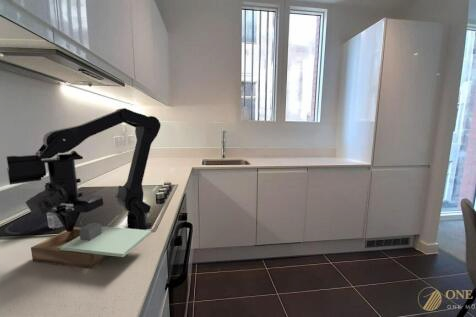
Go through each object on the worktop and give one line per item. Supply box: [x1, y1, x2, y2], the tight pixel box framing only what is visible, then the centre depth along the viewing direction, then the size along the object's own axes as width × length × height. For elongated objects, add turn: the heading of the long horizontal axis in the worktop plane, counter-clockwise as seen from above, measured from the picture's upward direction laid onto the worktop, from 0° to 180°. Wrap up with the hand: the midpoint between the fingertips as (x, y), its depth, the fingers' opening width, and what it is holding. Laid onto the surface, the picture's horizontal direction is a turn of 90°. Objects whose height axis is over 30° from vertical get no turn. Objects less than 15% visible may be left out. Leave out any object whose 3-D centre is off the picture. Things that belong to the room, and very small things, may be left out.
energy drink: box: [46, 212, 64, 230], centre depth 79 cm, size 5×5×12 cm
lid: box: [60, 222, 152, 258], centre depth 60 cm, size 12×18×4 cm, turn 80°
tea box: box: [30, 226, 110, 270], centre depth 63 cm, size 12×18×4 cm, turn 79°
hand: (69, 231), depth 62 cm, fingers closed
